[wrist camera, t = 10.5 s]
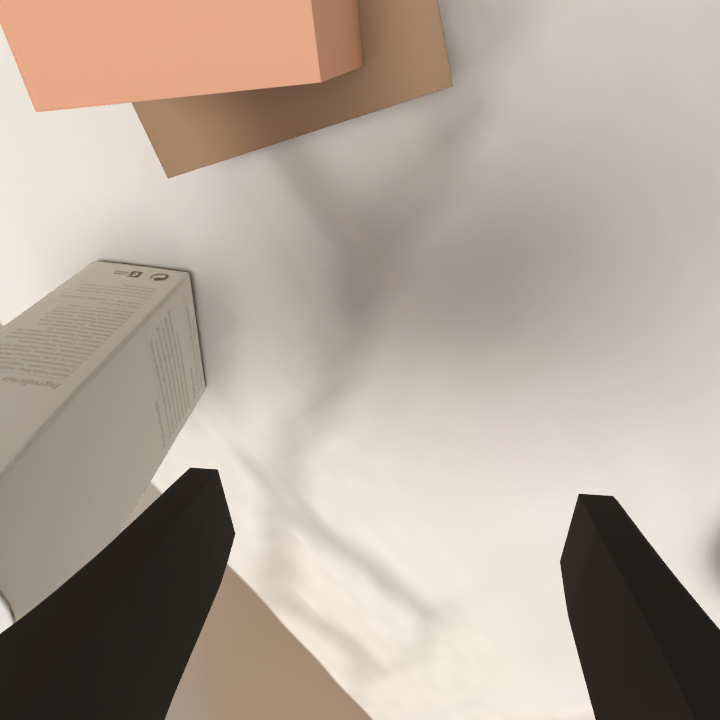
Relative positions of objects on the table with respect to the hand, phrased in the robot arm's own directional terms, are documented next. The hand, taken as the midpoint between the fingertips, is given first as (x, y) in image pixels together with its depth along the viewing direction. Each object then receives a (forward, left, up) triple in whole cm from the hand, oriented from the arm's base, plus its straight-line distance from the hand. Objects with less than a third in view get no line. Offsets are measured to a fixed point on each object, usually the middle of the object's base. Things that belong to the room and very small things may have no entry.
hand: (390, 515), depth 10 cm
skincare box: (+11, +2, -11) cm, 15 cm away
